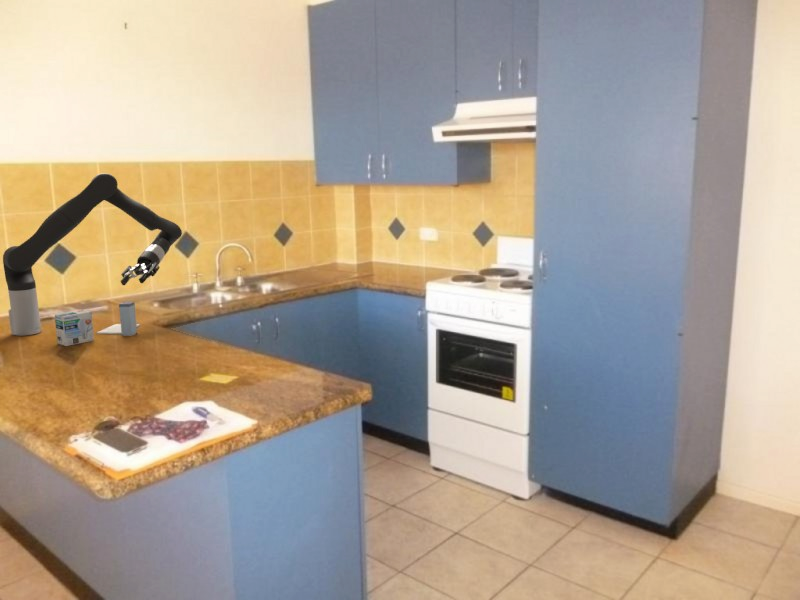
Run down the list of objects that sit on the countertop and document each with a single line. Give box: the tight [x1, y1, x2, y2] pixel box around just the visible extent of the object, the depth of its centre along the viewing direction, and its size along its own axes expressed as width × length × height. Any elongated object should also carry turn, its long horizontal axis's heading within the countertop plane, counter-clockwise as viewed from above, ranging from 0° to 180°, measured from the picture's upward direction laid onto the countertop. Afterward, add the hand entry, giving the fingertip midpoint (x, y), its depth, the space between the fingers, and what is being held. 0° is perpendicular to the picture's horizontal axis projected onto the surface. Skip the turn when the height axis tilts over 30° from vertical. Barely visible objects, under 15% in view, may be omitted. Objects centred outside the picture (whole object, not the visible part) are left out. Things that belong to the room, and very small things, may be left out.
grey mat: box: [96, 323, 141, 335], centre depth 260 cm, size 10×14×1 cm
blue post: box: [118, 301, 138, 337], centre depth 252 cm, size 4×4×12 cm
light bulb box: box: [54, 309, 95, 347], centre depth 241 cm, size 11×7×11 cm, turn 143°
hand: (131, 282), depth 257 cm, fingers open, 8 cm apart
